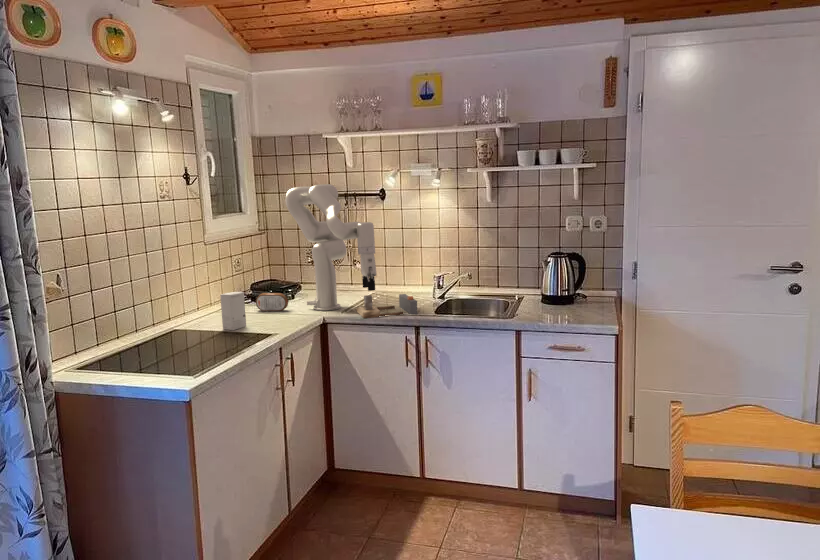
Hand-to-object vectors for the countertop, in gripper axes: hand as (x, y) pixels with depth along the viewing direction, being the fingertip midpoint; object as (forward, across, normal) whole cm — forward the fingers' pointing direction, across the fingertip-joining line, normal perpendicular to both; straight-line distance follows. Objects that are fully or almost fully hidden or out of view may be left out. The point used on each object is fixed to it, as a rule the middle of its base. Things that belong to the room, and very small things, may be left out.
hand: (369, 288), depth 281 cm
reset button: (+8, -3, -18) cm, 20 cm away
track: (+12, +1, -4) cm, 12 cm away
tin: (+10, +27, +41) cm, 50 cm away
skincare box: (+11, -1, +59) cm, 60 cm away
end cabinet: (+12, +1, -18) cm, 21 cm away
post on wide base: (+12, +1, +1) cm, 12 cm away
